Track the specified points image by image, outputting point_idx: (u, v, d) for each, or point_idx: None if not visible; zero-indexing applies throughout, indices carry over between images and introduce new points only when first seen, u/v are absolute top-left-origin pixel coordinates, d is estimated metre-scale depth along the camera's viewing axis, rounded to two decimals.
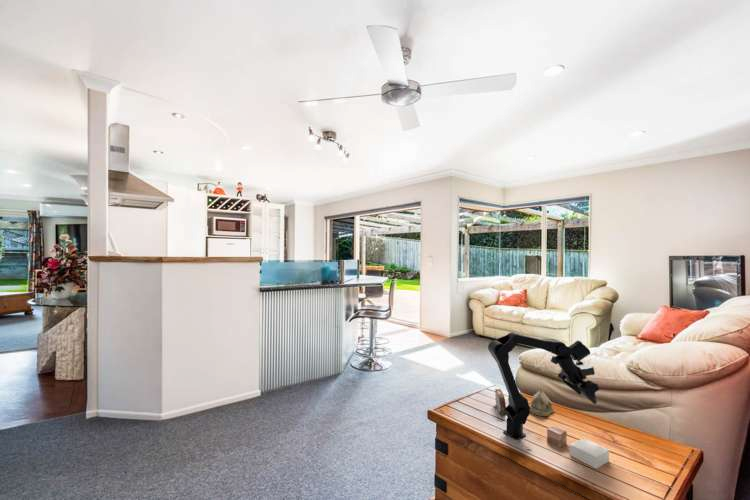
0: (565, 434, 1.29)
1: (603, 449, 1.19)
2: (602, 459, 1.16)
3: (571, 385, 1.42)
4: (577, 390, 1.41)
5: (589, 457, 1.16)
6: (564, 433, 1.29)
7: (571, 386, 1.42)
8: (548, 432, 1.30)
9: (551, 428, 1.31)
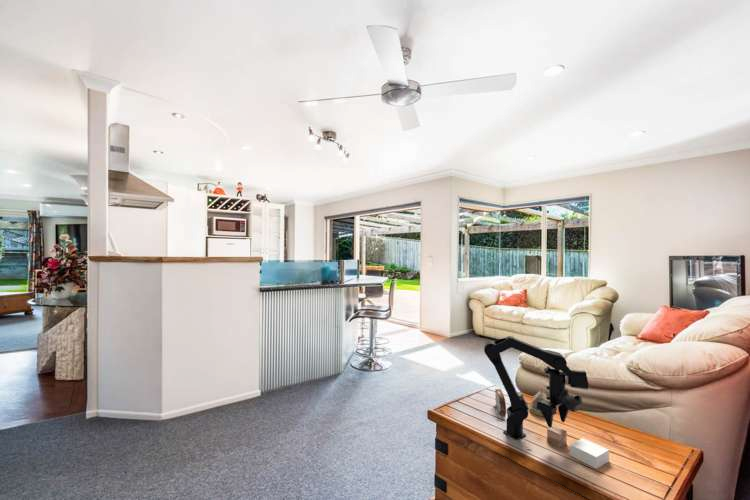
0: (565, 434, 1.29)
1: (603, 449, 1.19)
2: (602, 459, 1.16)
3: (560, 408, 1.34)
4: (562, 416, 1.33)
5: (589, 457, 1.16)
6: (564, 433, 1.29)
7: (560, 408, 1.34)
8: (548, 432, 1.30)
9: (551, 428, 1.31)
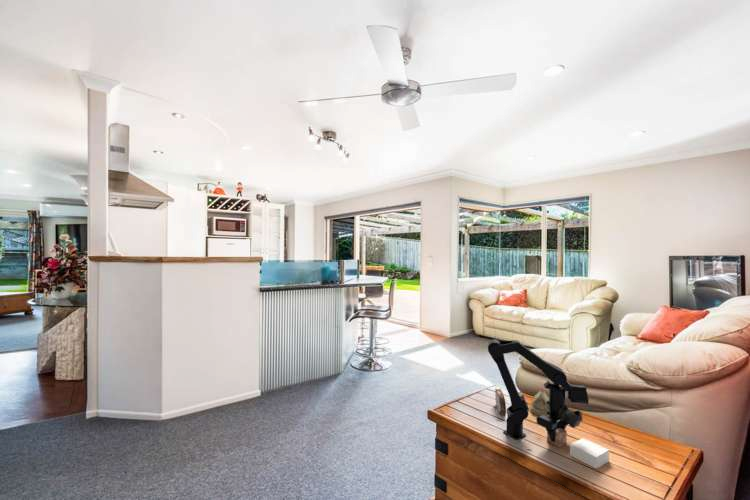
0: (565, 434, 1.29)
1: (603, 449, 1.19)
2: (602, 459, 1.16)
3: (557, 423, 1.33)
4: None
5: (589, 457, 1.16)
6: (564, 432, 1.29)
7: (557, 424, 1.33)
8: None
9: None
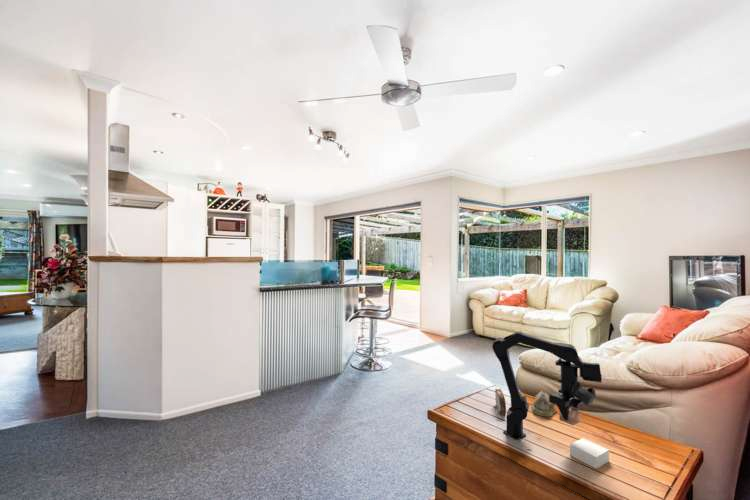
0: (578, 412, 1.25)
1: (603, 449, 1.19)
2: (602, 459, 1.16)
3: (569, 402, 1.29)
4: None
5: (589, 457, 1.16)
6: (577, 411, 1.25)
7: (569, 402, 1.29)
8: None
9: None
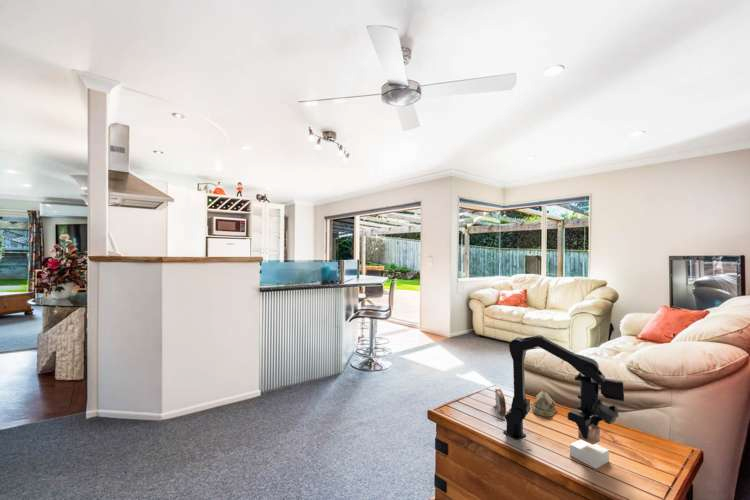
0: (598, 431, 1.19)
1: (603, 449, 1.19)
2: (602, 459, 1.16)
3: None
4: None
5: (589, 457, 1.16)
6: (598, 429, 1.19)
7: None
8: None
9: None
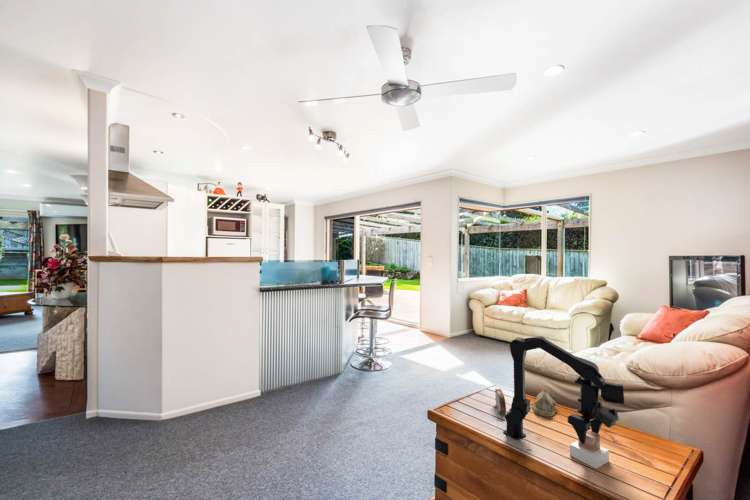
0: (598, 438, 1.19)
1: (603, 449, 1.19)
2: (602, 459, 1.16)
3: (591, 422, 1.24)
4: (594, 431, 1.23)
5: (589, 457, 1.16)
6: (598, 437, 1.18)
7: (591, 422, 1.24)
8: None
9: None
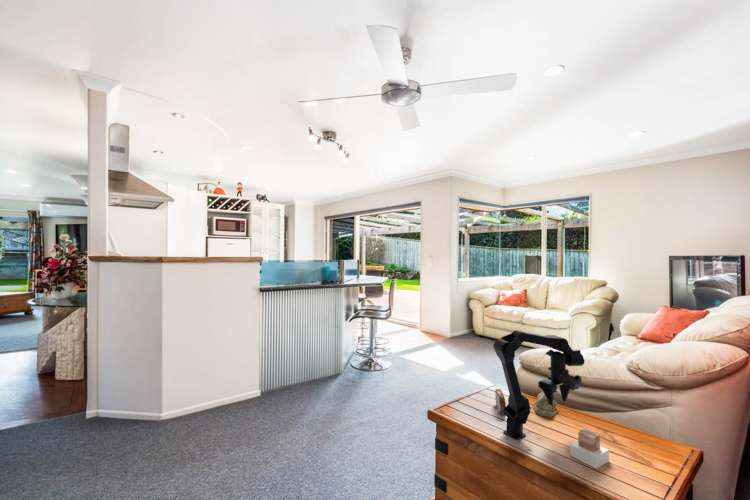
0: (598, 438, 1.19)
1: (603, 449, 1.19)
2: (602, 459, 1.16)
3: (561, 388, 1.42)
4: (563, 396, 1.41)
5: (589, 457, 1.16)
6: (598, 437, 1.18)
7: (561, 388, 1.42)
8: (580, 436, 1.20)
9: (583, 431, 1.21)
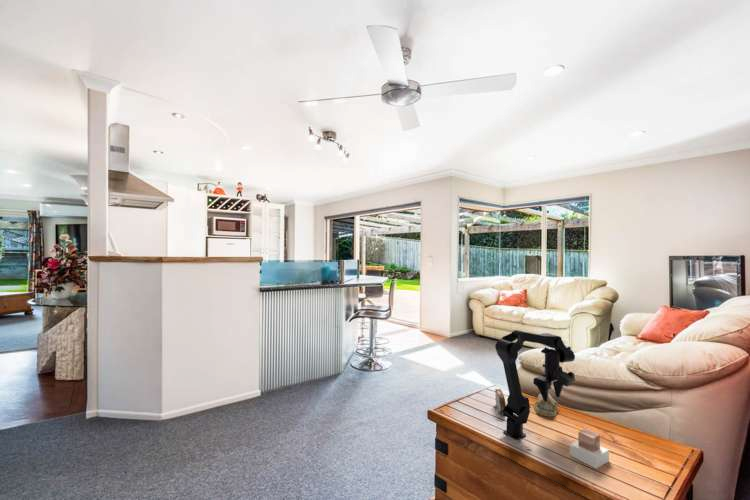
0: (598, 438, 1.19)
1: (603, 449, 1.19)
2: (602, 459, 1.16)
3: (555, 384, 1.46)
4: (556, 392, 1.45)
5: (589, 457, 1.16)
6: (598, 437, 1.18)
7: (555, 385, 1.46)
8: (580, 436, 1.20)
9: (583, 431, 1.21)
